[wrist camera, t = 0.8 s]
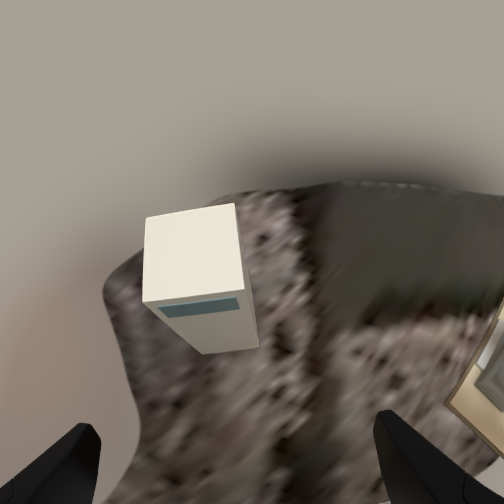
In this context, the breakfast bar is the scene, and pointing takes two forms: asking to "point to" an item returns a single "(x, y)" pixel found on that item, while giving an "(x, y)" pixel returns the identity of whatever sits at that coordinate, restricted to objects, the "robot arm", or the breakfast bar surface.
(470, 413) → the rail board
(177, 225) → the module block
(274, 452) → the breakfast bar surface
